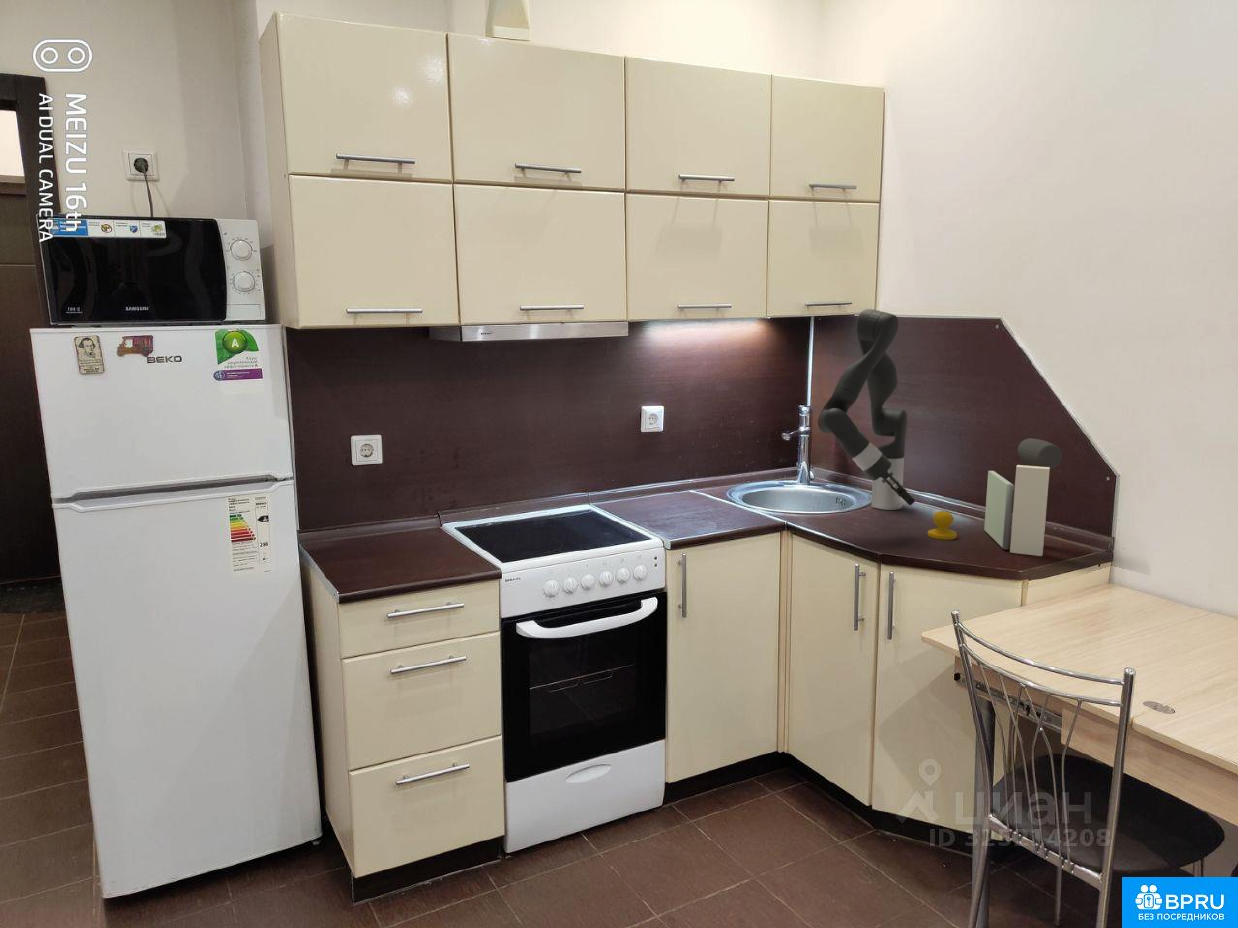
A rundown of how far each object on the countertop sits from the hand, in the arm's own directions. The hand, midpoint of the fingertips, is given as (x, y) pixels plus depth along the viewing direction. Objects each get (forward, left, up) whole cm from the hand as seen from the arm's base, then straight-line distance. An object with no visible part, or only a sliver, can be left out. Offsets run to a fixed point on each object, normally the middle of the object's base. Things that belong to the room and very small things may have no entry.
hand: (912, 502), depth 260 cm
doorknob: (+8, +3, -10) cm, 14 cm away
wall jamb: (+32, -5, -10) cm, 33 cm away
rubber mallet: (+32, +5, -10) cm, 34 cm away
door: (+23, +4, -9) cm, 25 cm away
